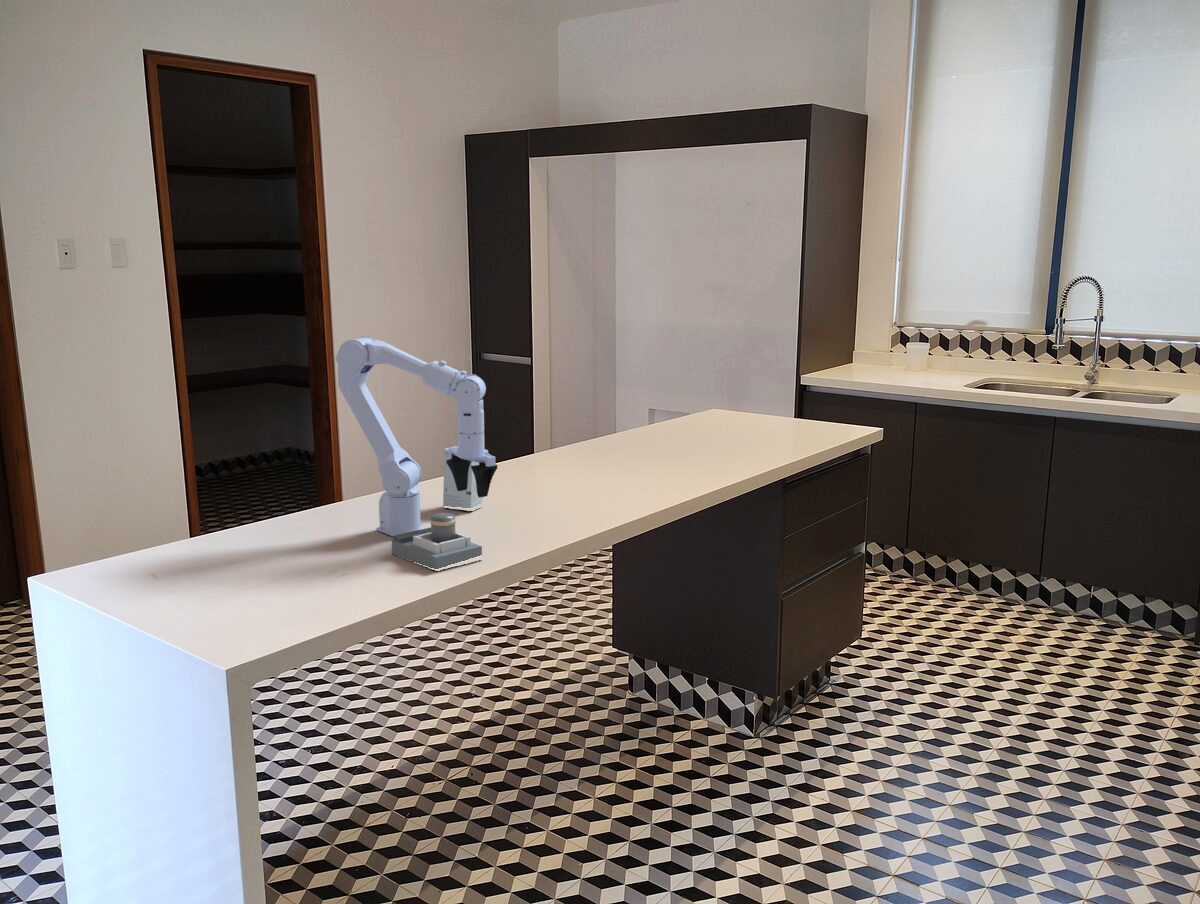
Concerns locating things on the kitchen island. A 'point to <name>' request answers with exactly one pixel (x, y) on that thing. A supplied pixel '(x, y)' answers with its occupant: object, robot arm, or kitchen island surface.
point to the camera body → (434, 548)
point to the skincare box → (459, 497)
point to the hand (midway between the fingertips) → (472, 493)
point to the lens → (443, 527)
